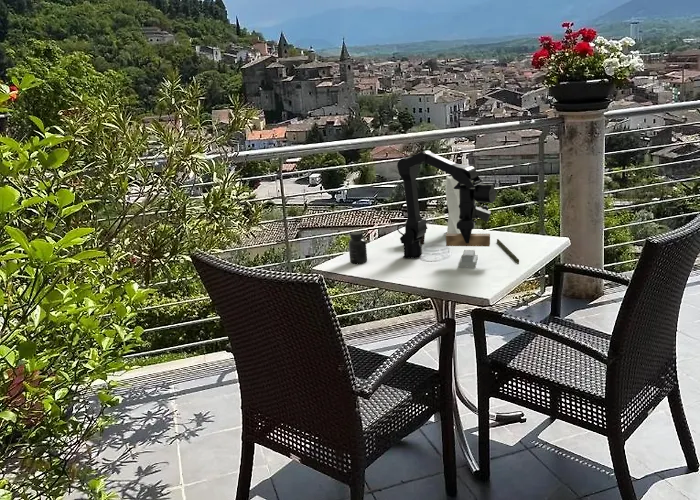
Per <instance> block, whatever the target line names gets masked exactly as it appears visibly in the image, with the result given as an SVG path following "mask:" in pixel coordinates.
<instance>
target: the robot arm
mask: <svg viewBox="0 0 700 500" xmlns="http://www.w3.org/2000/svg"><path fill="white" fill-rule="evenodd" d="M424 163H425V164H427V165H429V166H430V167H433V168H436V169H438V170H439V171H442V172H444V173H446V174H448V175H449V176H450V177H451V176H452V177H453V179H455V180H456V181H458V182H459V183H457V185H456V186H455V187H454V189H459V208H460V215H459V219H460V220H459V221H458V222H457V229H459V230H460V232H461V234H462V236H463V238H464V240H465V242H466V243H469V240H470V234H472V231H473V230H474V229H475V227H476V224H477V222H478V219H479V220H483V221H484V222H489V219H490V216H491V215H492V211H491V210H489V206H487V205H486V204H494V203H495V200H496V197H497V192H496V189H495V187H494V184H493V183H484V182H483V181H482V179H481V178H480V176H479V175H478V172H477V169H476V167H474V166H472V165H467V164H462V163H461V164H460V163H456V162H454V161H452V160H449V159H447V158H444V156H443V157H442V156H441V155H438V154H436V153H434V152H432V151H431V150H429V149H428V150H423V151H420V152H418V153H416V154H415V155H412V156H411V155H410V156H406V157H403V158H400V159H399V160H398V161H397V163H396V167H397V171H398V175H399V177H400V178H401V179H402V181H403V188H404V197H405V203H406V211H407V222H406V221H405V224H404V225H405V227H404V229H405V231H404V233H403V235H401V237H400V238H399V239H400V243H401V244H403V257H402V259H420V258H421V256H422V255H423V245H422V244H420V240H422V238H423V235H424V234H425V235H426V233H427V229H428V226H427V219H426V218H422V216H421V212H420V204H419V195H418V185H417V177H418V173H419V166H420V165H422V164H424ZM477 203H486V204H485V205H483V206H482V207H481V206H480V207H479V206H477Z"/></svg>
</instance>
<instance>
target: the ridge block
mask: <svg viewBox="0 0 700 500" xmlns="http://www.w3.org/2000/svg"><path fill="white" fill-rule="evenodd" d="M475 252H476V249H464V250H463V252H462V254H461V255H460V258H459V261H458V267H459V268H476V266H477V263H478V260H479V258H478V257H479V256H478V254H476V253H475Z"/></svg>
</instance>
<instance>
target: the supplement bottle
mask: <svg viewBox="0 0 700 500" xmlns="http://www.w3.org/2000/svg"><path fill="white" fill-rule="evenodd" d="M363 234H364V233H363V231H353V232H350V240H348V250H349V252H348V253H349V262H350V263H351V264H352V265H364V264H366V263H367V261H368V253H367V241H366V240H365V238H364V235H363Z"/></svg>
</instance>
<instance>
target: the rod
mask: <svg viewBox="0 0 700 500" xmlns="http://www.w3.org/2000/svg"><path fill="white" fill-rule="evenodd" d="M496 244H498V245H499V246H500V247H501V249H503V250H504V251H505V252H506V253H507V254H508V255H509V257H511V258H512V259H513V261H515V262H516V263H517V264H519V263H520V259H519V258H518V257H517V256H516V255H515V254H514V253H513V252H512V251H511V250H510V249H509V248H508V246H507V245H505V244H504V243H503V242H502V241H501V240H500V239H499V238H497V239H496Z"/></svg>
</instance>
